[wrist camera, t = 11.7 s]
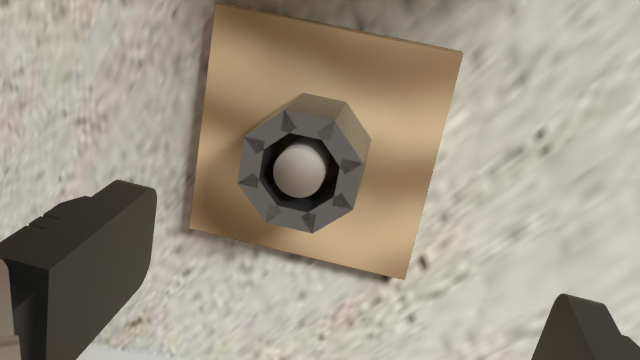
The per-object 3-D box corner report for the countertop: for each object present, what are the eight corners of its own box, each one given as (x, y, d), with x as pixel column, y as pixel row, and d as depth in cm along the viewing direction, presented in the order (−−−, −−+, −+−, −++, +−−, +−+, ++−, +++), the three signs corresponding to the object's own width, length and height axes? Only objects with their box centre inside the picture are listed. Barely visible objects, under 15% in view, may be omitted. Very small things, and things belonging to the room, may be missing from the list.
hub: (272, 86, 35) (249, 101, 30) (378, 108, 34) (370, 128, 29) (256, 185, 37) (232, 214, 32) (356, 208, 36) (346, 241, 31)
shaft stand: (223, 3, 35) (182, 7, 29) (461, 51, 34) (469, 66, 28) (197, 219, 40) (156, 262, 34) (405, 269, 38) (402, 323, 32)
